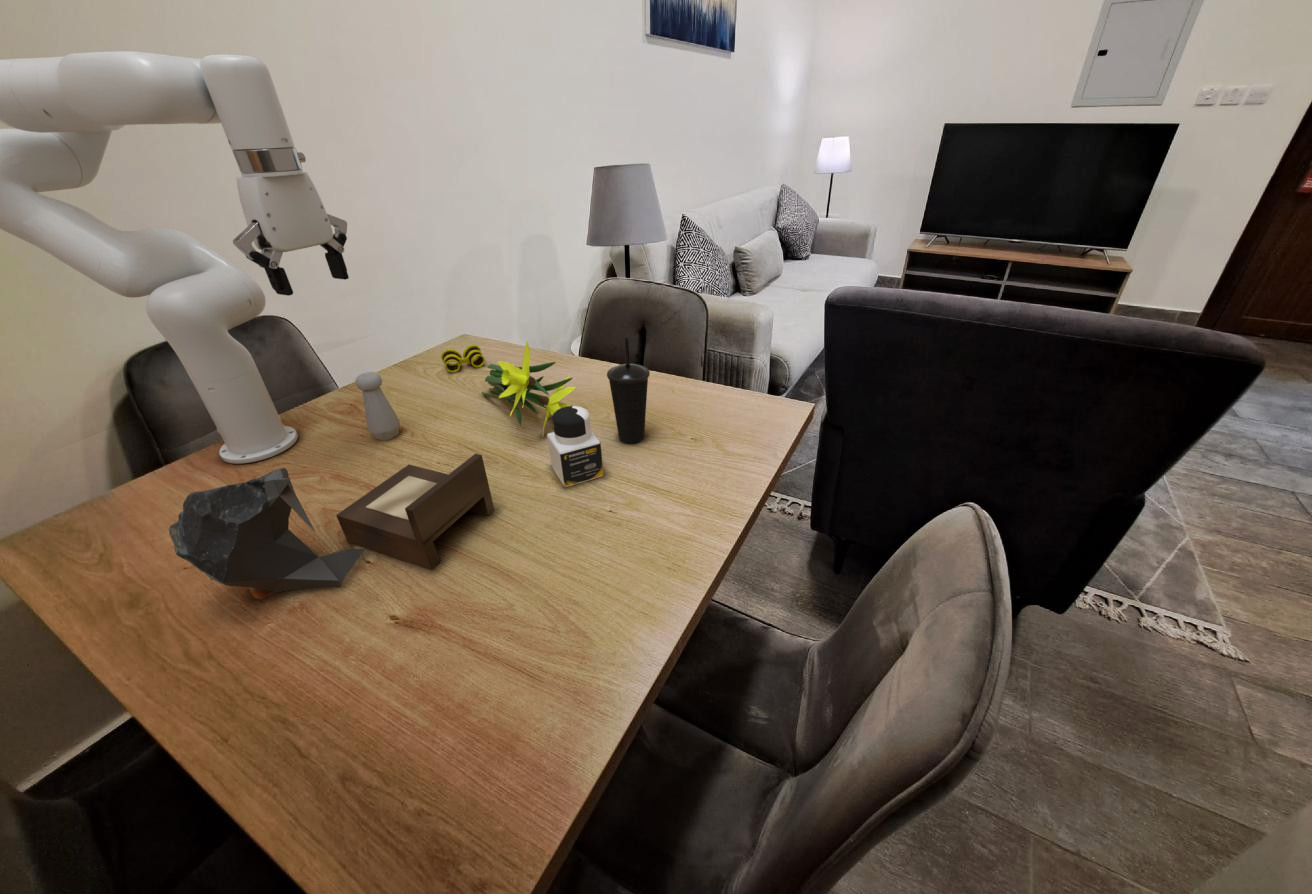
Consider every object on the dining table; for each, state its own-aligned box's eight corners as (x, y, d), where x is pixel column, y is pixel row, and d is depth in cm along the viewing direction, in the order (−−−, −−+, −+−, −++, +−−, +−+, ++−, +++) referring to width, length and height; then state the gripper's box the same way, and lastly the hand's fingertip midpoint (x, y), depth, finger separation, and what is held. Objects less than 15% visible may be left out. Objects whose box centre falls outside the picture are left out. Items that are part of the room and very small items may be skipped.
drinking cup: (646, 449, 98) (643, 347, 87) (607, 446, 99) (598, 345, 89) (655, 429, 104) (652, 331, 94) (617, 426, 106) (611, 329, 95)
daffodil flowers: (541, 381, 127) (611, 395, 98) (500, 427, 123) (560, 456, 95) (488, 329, 118) (548, 329, 89) (443, 378, 115) (490, 393, 86)
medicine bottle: (564, 488, 88) (556, 426, 82) (551, 467, 94) (542, 407, 87) (604, 476, 91) (598, 415, 85) (589, 457, 96) (582, 398, 90)
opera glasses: (447, 377, 130) (443, 359, 127) (443, 366, 133) (439, 349, 130) (487, 369, 134) (484, 352, 131) (481, 358, 137) (478, 341, 134)
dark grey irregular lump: (270, 546, 78) (214, 443, 69) (372, 547, 78) (329, 442, 68) (196, 625, 66) (116, 512, 57) (316, 626, 66) (254, 512, 56)
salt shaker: (409, 430, 106) (390, 370, 99) (388, 444, 102) (367, 383, 95) (386, 426, 108) (366, 367, 101) (364, 440, 103) (342, 379, 96)
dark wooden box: (347, 541, 78) (322, 484, 72) (416, 489, 89) (399, 435, 83) (431, 570, 73) (411, 510, 67) (494, 510, 84) (481, 454, 78)
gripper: (308, 159, 83) (345, 271, 92) (187, 168, 69) (244, 298, 78) (341, 159, 80) (376, 274, 89) (221, 169, 67) (277, 303, 76)
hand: (314, 286), depth 84 cm, fingers open, 9 cm apart
